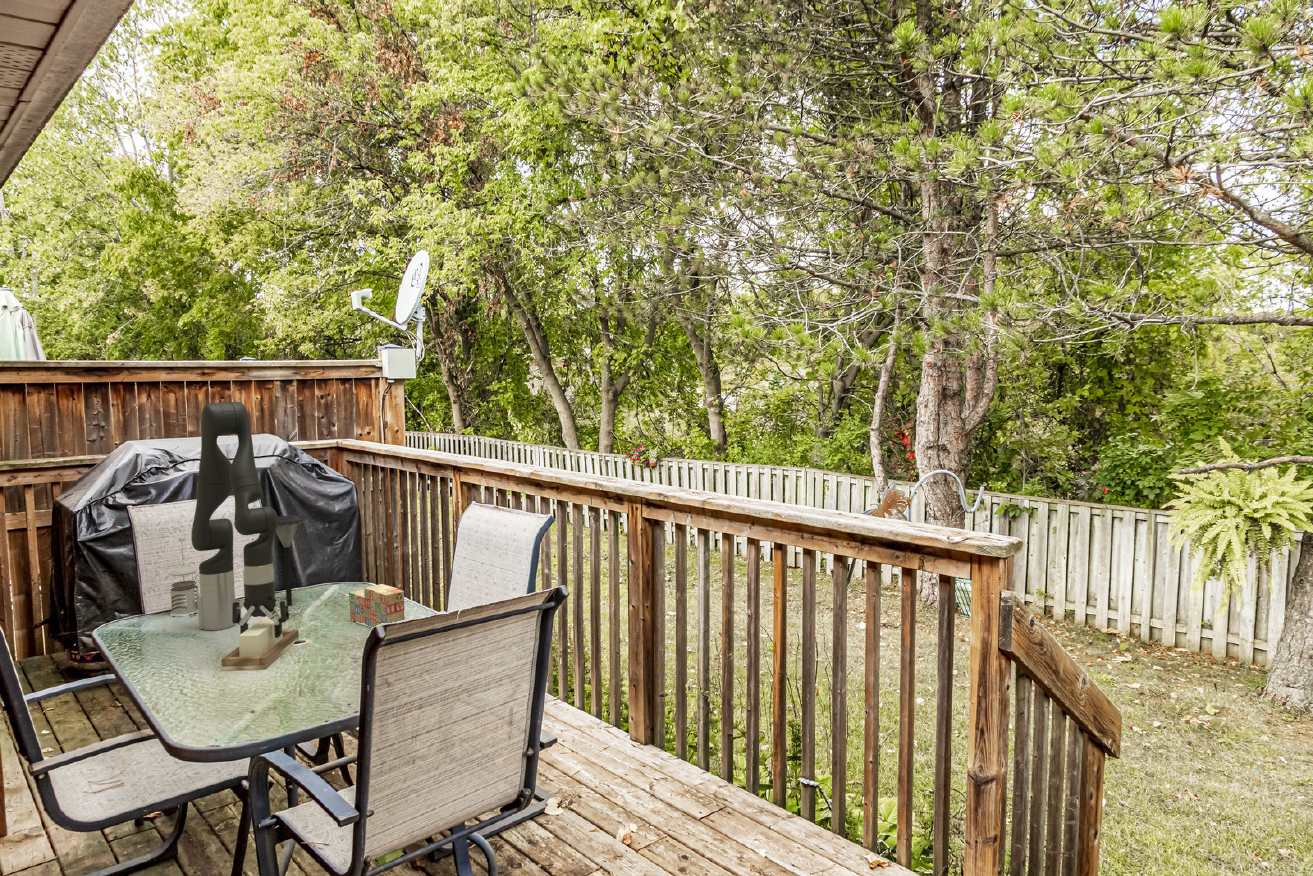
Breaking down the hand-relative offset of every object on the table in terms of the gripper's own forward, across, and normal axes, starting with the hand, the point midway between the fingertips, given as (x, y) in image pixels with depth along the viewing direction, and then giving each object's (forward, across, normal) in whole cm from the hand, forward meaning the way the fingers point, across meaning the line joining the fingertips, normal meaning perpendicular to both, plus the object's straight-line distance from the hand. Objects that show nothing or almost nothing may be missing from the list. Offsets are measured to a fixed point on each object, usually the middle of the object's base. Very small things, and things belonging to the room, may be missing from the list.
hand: (261, 637), depth 218 cm
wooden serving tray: (+5, 0, 0) cm, 5 cm away
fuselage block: (+4, 0, 0) cm, 4 cm away
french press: (+5, -41, +42) cm, 59 cm away
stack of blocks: (+5, +25, +24) cm, 34 cm away
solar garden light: (+5, -11, +48) cm, 50 cm away
